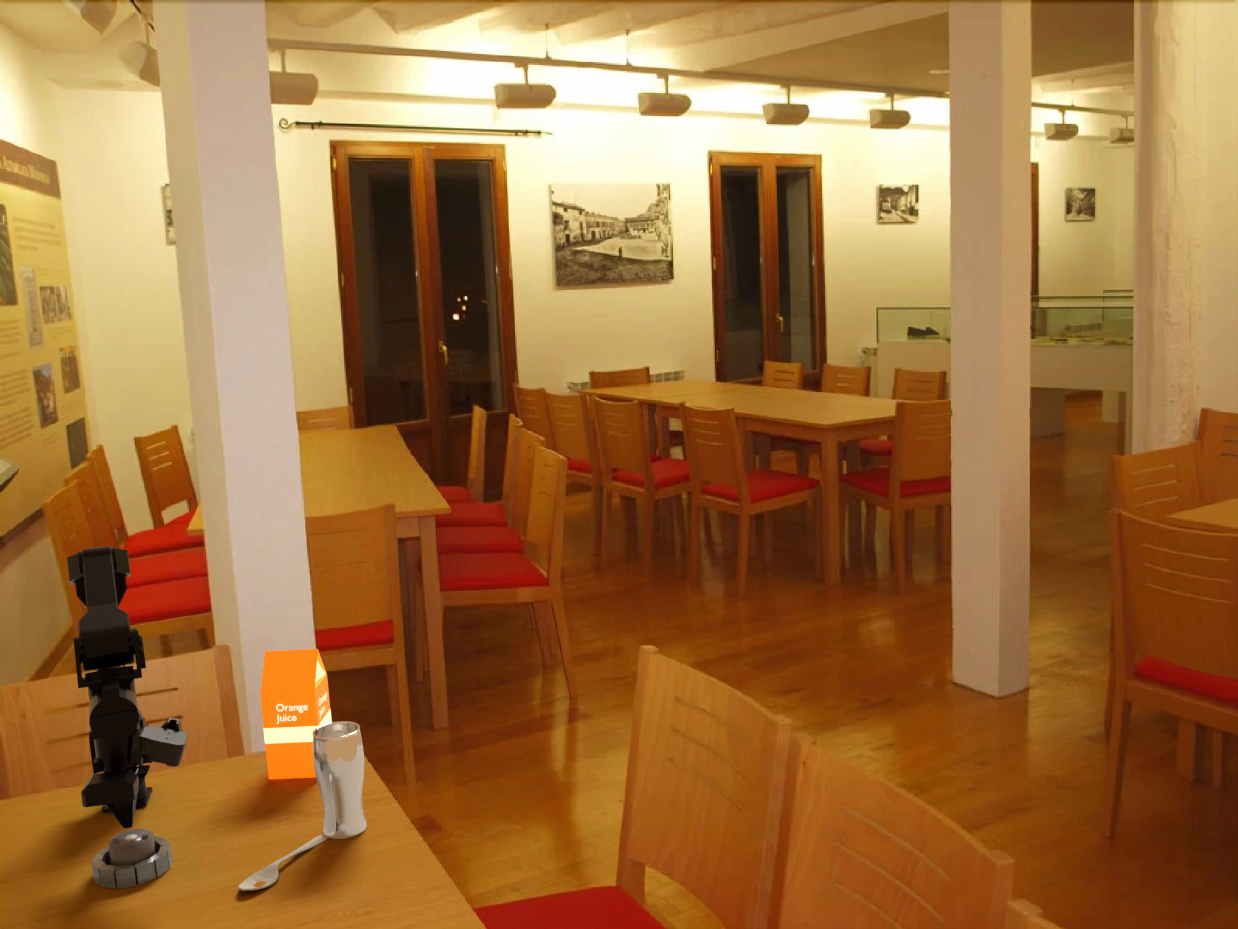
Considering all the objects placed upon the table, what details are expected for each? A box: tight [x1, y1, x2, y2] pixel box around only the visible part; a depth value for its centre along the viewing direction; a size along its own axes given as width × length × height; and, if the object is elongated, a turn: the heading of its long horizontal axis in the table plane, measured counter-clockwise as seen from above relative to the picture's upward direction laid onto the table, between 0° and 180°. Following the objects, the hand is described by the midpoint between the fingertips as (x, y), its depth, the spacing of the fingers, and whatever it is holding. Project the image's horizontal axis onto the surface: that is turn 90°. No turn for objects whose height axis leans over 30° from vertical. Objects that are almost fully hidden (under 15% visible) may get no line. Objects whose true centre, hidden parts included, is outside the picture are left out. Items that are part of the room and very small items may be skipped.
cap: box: [108, 828, 155, 866], centre depth 156 cm, size 6×6×5 cm
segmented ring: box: [91, 835, 173, 890], centre depth 156 cm, size 10×10×2 cm
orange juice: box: [259, 648, 333, 780], centre depth 187 cm, size 8×9×20 cm
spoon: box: [237, 833, 329, 892], centre depth 157 cm, size 4×21×2 cm, turn 158°
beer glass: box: [312, 720, 368, 840], centre depth 164 cm, size 7×7×15 cm
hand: (128, 827), depth 156 cm, fingers closed
